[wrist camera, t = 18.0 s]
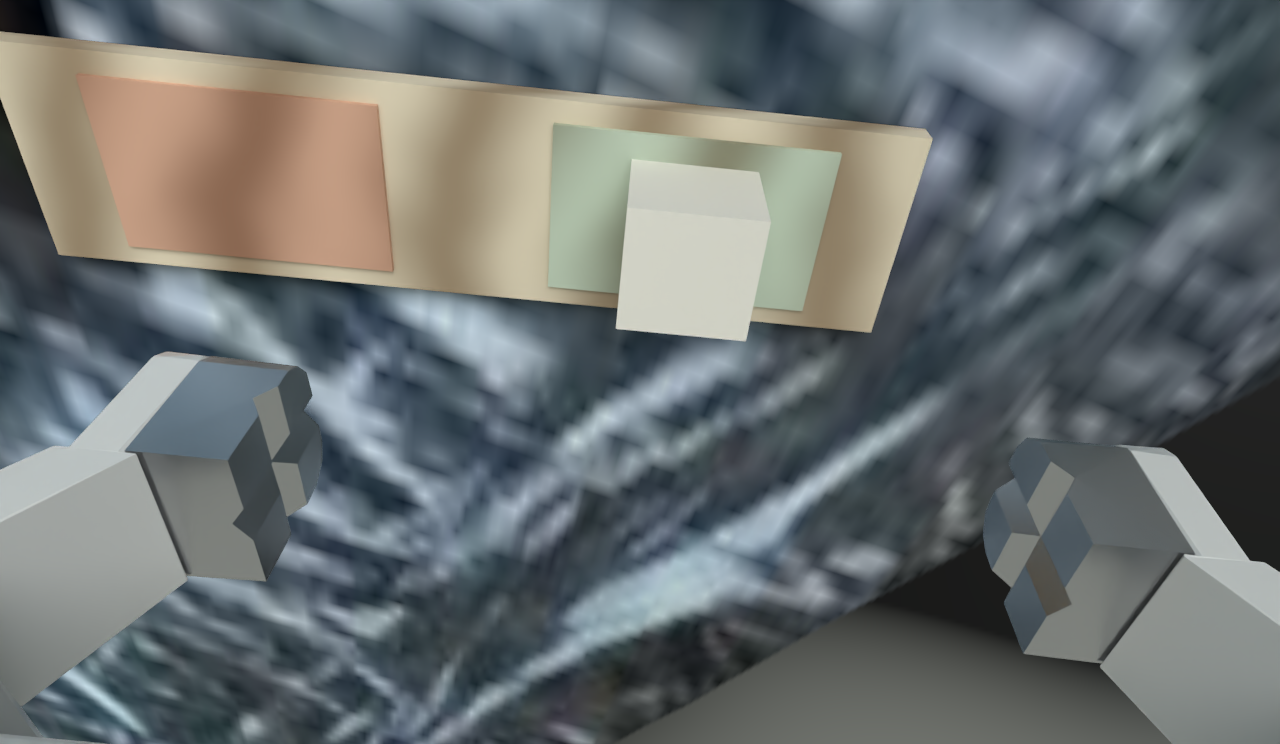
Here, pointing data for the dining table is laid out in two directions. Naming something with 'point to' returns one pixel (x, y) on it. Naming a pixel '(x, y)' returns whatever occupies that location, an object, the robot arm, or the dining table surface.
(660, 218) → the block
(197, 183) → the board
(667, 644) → the dining table surface
